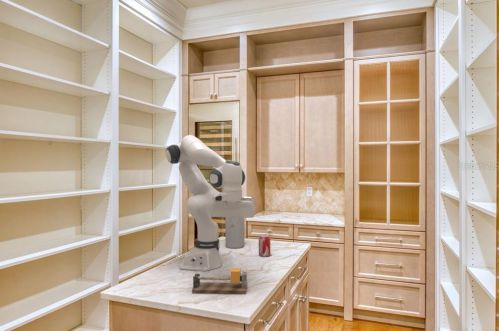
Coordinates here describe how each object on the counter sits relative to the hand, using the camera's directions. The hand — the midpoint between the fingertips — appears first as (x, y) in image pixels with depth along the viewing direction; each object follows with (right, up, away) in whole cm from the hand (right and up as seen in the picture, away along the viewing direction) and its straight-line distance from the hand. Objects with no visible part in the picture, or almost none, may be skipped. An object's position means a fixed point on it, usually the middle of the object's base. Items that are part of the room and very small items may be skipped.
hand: (232, 226), depth 150 cm
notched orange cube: (+2, -23, -7) cm, 24 cm away
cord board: (-5, -26, -6) cm, 28 cm away
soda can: (+17, -26, +46) cm, 55 cm away
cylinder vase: (-2, -26, +68) cm, 73 cm away
